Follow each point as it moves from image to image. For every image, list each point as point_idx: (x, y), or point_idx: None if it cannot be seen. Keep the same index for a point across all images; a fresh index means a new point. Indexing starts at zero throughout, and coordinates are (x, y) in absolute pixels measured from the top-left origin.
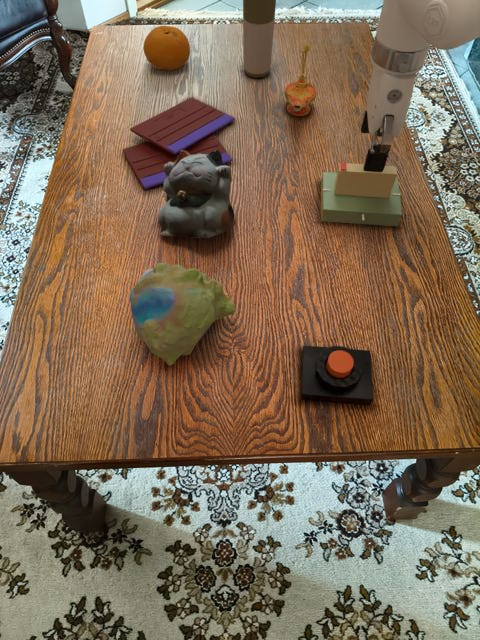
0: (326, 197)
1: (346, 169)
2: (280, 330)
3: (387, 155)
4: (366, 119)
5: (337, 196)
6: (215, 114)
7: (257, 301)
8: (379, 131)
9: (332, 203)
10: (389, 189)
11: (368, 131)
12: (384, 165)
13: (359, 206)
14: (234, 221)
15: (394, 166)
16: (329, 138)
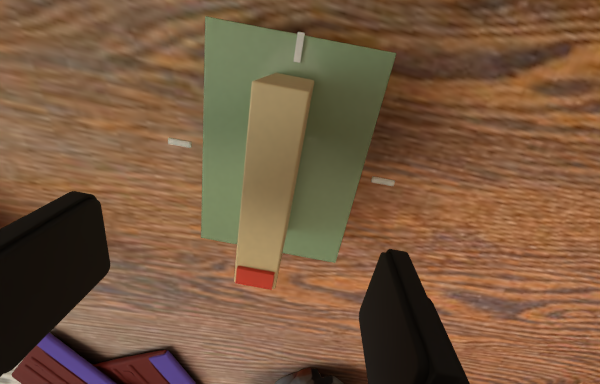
0: (294, 248)
1: (272, 274)
2: (573, 342)
3: (446, 349)
4: (40, 332)
5: (293, 225)
6: (46, 359)
7: (497, 358)
8: (82, 198)
9: (318, 241)
10: (311, 94)
11: (99, 252)
12: (419, 282)
13: (337, 179)
14: (332, 381)
15: (254, 91)
16: (41, 164)
